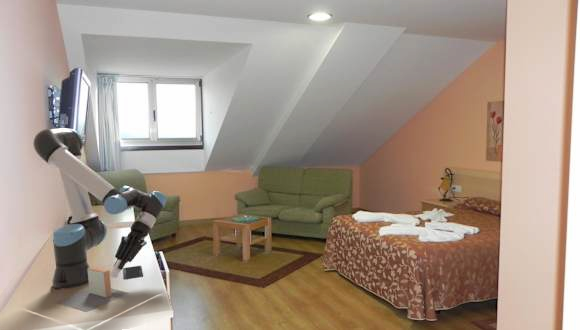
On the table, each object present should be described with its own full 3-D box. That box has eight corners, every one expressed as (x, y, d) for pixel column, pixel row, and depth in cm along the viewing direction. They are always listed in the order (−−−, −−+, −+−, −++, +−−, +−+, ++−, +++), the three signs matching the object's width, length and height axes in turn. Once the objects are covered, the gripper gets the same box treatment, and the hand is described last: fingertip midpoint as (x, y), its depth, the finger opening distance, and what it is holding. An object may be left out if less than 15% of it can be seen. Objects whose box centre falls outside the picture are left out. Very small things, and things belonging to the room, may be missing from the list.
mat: (55, 303, 157) (55, 302, 157) (99, 286, 172) (98, 284, 172) (86, 313, 148) (86, 312, 148) (129, 294, 163) (129, 292, 163)
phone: (123, 279, 177) (123, 268, 191) (123, 282, 177) (123, 270, 191) (143, 276, 180) (141, 265, 194) (143, 278, 180) (141, 267, 194)
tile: (89, 293, 164) (86, 268, 163) (94, 291, 166) (92, 266, 165) (106, 298, 159) (103, 272, 158) (111, 295, 161) (109, 270, 160)
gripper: (126, 218, 180) (95, 269, 167) (148, 221, 174) (117, 274, 161) (137, 227, 185) (108, 277, 173) (159, 230, 179) (130, 283, 166)
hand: (112, 276), depth 167 cm, fingers closed
